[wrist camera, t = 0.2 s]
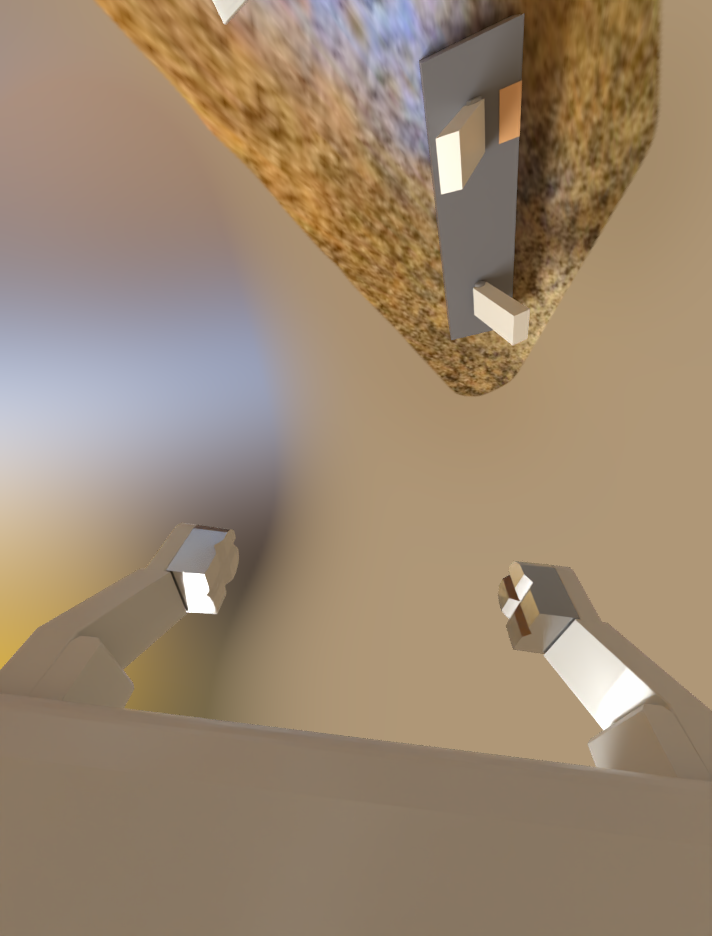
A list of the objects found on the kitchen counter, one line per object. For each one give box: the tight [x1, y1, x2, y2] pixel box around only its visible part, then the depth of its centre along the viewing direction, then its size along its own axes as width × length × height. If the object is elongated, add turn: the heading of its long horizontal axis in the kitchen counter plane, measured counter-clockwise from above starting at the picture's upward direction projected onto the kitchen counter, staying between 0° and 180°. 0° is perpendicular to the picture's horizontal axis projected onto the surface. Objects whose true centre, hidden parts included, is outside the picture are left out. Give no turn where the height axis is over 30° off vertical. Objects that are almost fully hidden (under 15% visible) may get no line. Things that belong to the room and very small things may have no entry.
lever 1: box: [436, 96, 485, 194], centre depth 32 cm, size 2×4×11 cm, turn 18°
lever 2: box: [473, 281, 530, 345], centre depth 44 cm, size 2×4×11 cm, turn 18°
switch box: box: [419, 14, 524, 340], centre depth 43 cm, size 9×30×5 cm, turn 18°
